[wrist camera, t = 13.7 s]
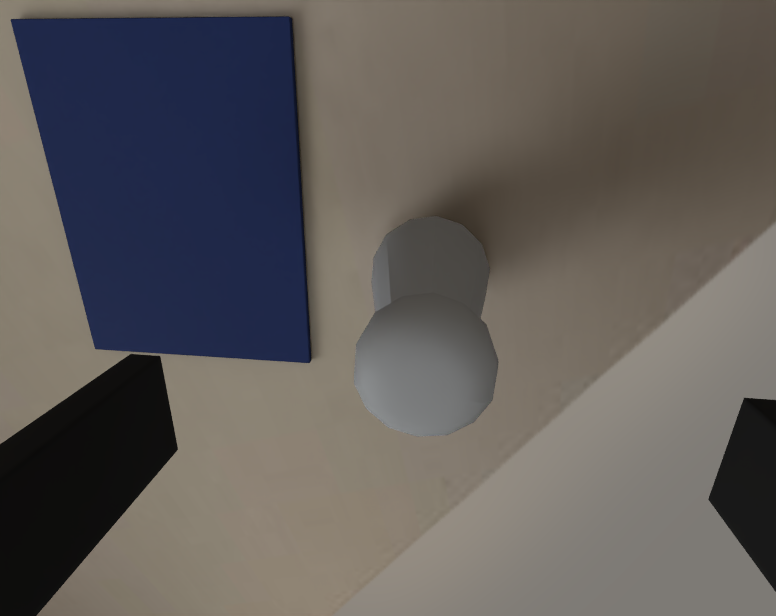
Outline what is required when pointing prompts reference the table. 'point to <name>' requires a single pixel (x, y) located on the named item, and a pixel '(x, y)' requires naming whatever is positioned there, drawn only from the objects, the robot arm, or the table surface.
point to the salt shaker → (427, 331)
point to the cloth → (177, 179)
